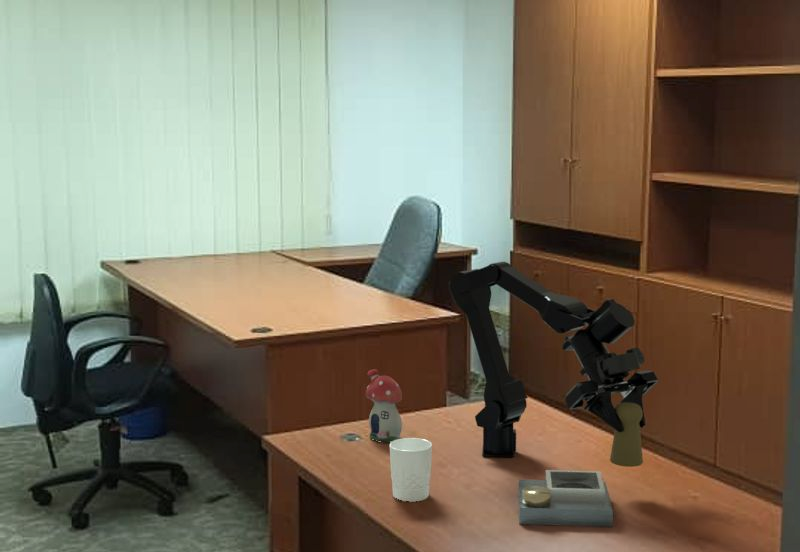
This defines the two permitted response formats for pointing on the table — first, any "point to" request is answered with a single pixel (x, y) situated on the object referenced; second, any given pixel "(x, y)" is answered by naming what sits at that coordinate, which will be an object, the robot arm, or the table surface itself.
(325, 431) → the table surface
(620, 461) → the olive knobbed post
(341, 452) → the table surface
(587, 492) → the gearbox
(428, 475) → the white cup
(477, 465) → the table surface
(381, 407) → the decorative ornament
